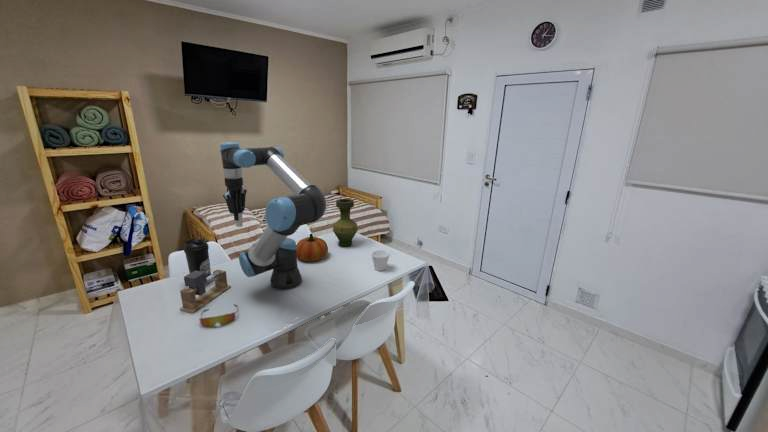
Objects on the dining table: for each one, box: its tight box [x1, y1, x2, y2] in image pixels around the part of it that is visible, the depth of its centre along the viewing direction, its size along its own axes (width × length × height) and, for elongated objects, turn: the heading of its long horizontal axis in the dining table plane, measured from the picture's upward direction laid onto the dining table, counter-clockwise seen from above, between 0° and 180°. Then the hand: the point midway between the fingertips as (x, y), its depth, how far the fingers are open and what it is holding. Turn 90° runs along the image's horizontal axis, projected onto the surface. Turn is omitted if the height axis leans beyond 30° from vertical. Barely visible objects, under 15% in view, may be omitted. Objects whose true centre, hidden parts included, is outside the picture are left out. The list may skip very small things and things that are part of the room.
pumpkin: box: [296, 233, 329, 262], centre depth 183 cm, size 19×19×15 cm
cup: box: [370, 249, 390, 272], centre depth 172 cm, size 10×10×9 cm
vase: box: [332, 198, 358, 249], centre depth 200 cm, size 16×16×30 cm
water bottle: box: [183, 237, 212, 277], centre depth 150 cm, size 10×10×23 cm
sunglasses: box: [198, 303, 239, 328], centre depth 129 cm, size 14×15×5 cm
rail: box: [179, 269, 232, 314], centre depth 140 cm, size 22×7×9 cm, turn 165°
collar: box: [183, 270, 207, 297], centre depth 134 cm, size 6×5×9 cm
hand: (239, 226), depth 148 cm, fingers closed
